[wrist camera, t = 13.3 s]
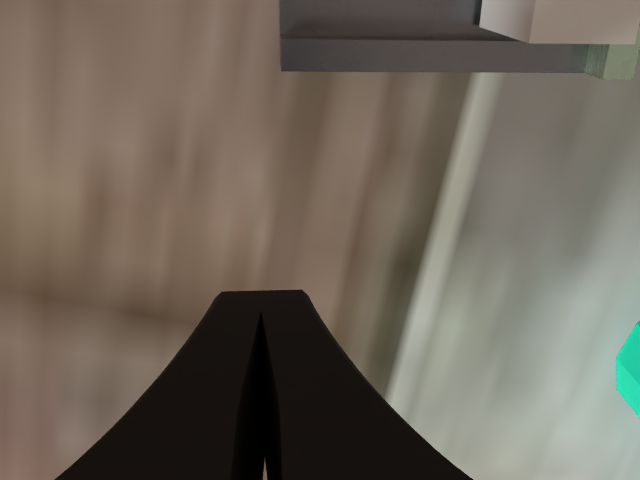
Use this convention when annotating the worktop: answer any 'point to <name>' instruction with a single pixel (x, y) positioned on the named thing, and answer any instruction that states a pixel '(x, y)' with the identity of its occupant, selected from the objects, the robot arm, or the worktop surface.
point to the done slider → (563, 20)
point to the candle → (630, 370)
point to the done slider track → (428, 41)
